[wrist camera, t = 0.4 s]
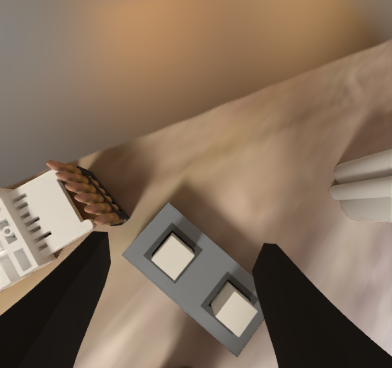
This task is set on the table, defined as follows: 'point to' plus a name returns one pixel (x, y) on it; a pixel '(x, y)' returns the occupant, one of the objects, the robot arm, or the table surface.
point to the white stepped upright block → (365, 187)
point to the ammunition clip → (90, 193)
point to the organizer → (36, 226)
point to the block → (195, 275)
